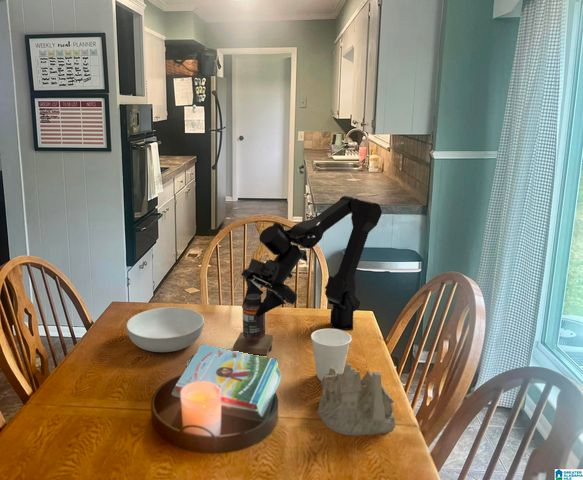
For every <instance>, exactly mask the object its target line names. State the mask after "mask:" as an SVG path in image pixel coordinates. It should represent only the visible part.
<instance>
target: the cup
mask: <svg viewBox="0 0 583 480" xmlns="http://www.w3.org/2000/svg"><path fill="white" fill-rule="evenodd" d="M310 334H311V335H310V339H311V343H312V349H313V356H314V362H315V371H316V377H317V379H318V380H319V381H321V382H322V379H323V377H324V376H325V375H326V374H328V373H329V370H330V367H334V368H336V369H337V371H338V372H339V373H344V369H345V366H346V363H347V362H346V361H347V358H348V357H347V356H348V353H349V349H350V344H351V342H352V339H353V338H352V335H351V334H349V333H348V332H347V331H345V330H343V329H337V328H322V329H321V328H320V329H317V330H314V331H313V332H311V333H310Z"/></svg>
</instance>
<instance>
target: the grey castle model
mask: <svg viewBox="0 0 583 480" xmlns="http://www.w3.org/2000/svg"><path fill="white" fill-rule="evenodd" d="M360 371H361V370H358V371H357V370H356V371H355V368H354V367H352V364H351V363H350V362H345V366H344V370H343V373H339V372H338V371H337V369H336V368H334V367H330V370H329V373H328V374H326V375H325V376H324V377H323V379H322V381H321V382H320V386H321V389H322V395H321V397H320V399H319V403H318V408H317V415H318V417H319V419H320V420H322V422H323V424H324V425H325V426H327V428H328V429H330V430H332V432H336V433H338V434H342V435H346V436H352V437H353V436H354V437H355V436H363V435H365V436H366V435H380V434H388V433H390V432H393V431H394V429H395V428H396V425H397V423H396V420H395V419H396V418H395V413H394V408H393V403H394V402H395V400H394V399H393V397H391V395H390V394H389V392H388V391H387V390H386V388H385V387H383V385H382V374H381V372H379V371H377V370H376V371H373V372H370V370H367V371H366V373H365V374H364V375H363V377H362V378H361V372H360Z"/></svg>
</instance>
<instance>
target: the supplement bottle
mask: <svg viewBox="0 0 583 480" xmlns="http://www.w3.org/2000/svg"><path fill="white" fill-rule="evenodd" d="M246 301H247V302H246V303H245V304H244V305H243V304H242V305H243V308H242V332H243V336H244V337H245V338H247V339H250V340H258V339H261V338H263V337H264V336H265V334H266V313H264V314H263V315H261V316H259V317H257V316H256V315H255V314H256V312H257V310H258V308H259V307H260V305H261V304H262V302H263V301H262V295H259V294H249V295H247V296H246Z"/></svg>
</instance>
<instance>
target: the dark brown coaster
mask: <svg viewBox="0 0 583 480" xmlns="http://www.w3.org/2000/svg"><path fill="white" fill-rule="evenodd" d="M273 340H274V335H273V334H267V333H265V336H264V337H263V338H261V339H258V340H250V339H247V338H245V337H244V336H243V331H242V332H241V331H240V333H239V335H238V337H237V338H236V340H235V342H234V344H233V345H232V352H233V351H239V352H244V353H243V354H256V355H261V356H267V357H268V353H269V352H271V351H272V349H273Z"/></svg>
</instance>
